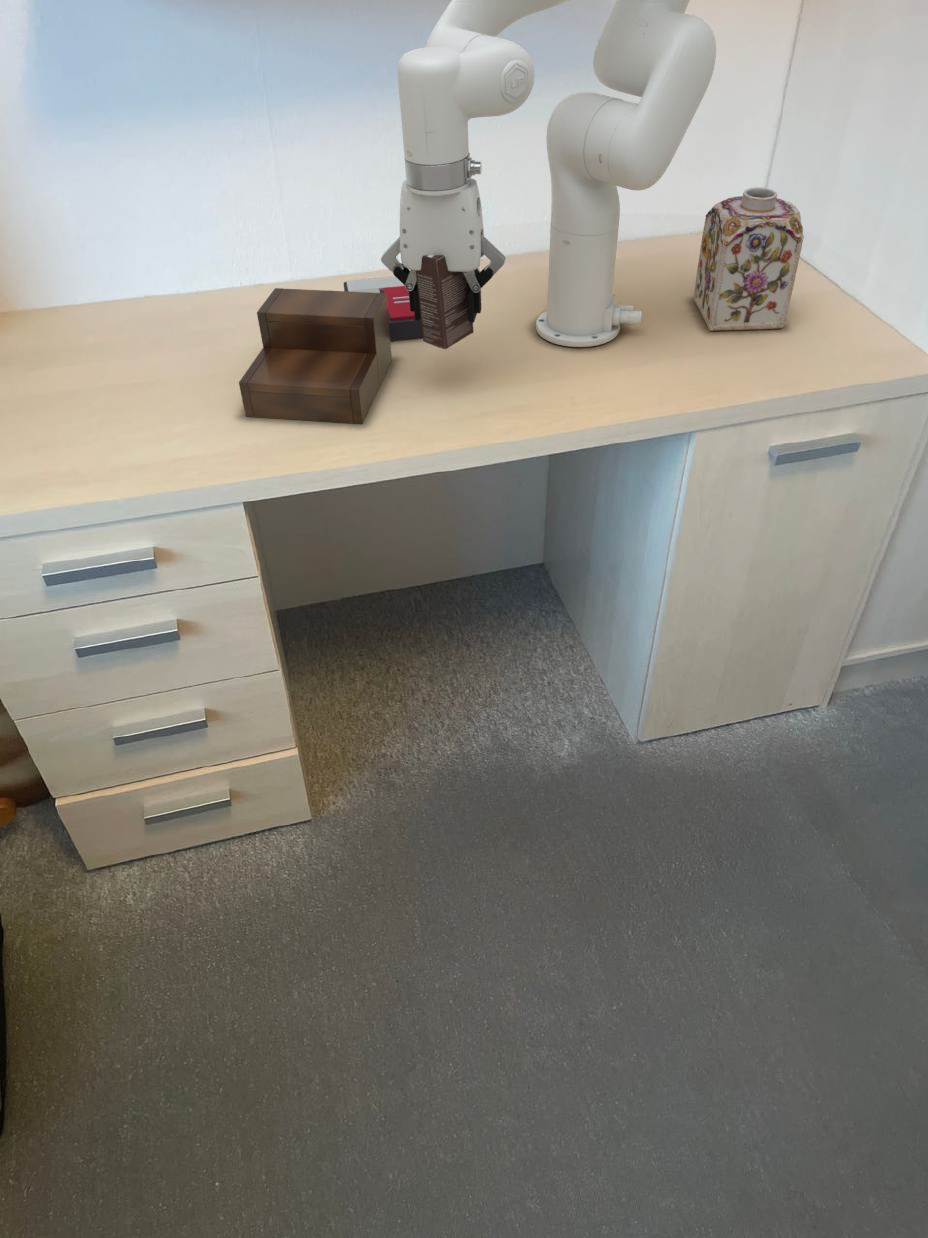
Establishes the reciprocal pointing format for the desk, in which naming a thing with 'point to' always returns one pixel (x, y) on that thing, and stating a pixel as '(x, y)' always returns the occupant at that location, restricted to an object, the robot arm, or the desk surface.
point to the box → (442, 303)
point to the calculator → (391, 305)
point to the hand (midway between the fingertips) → (446, 315)
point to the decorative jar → (748, 261)
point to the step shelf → (318, 356)
